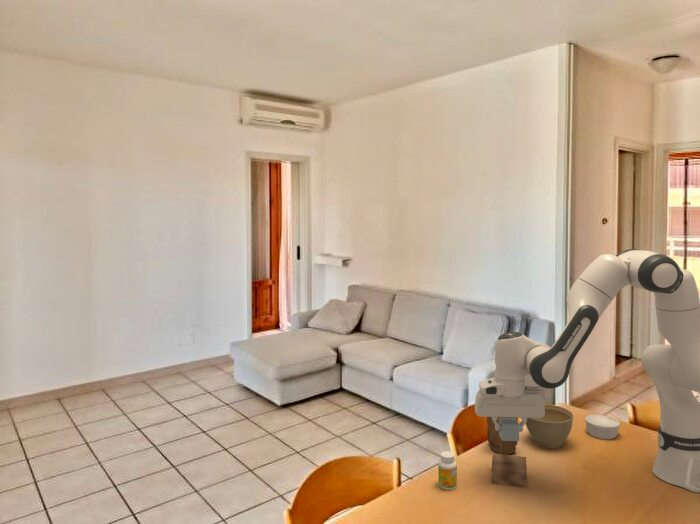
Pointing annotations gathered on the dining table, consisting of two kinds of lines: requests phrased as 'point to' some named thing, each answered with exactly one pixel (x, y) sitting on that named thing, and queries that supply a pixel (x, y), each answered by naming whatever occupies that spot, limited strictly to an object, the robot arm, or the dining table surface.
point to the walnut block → (509, 470)
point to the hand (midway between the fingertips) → (508, 430)
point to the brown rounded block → (499, 439)
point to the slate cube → (509, 429)
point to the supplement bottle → (447, 471)
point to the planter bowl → (551, 426)
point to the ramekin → (602, 426)
